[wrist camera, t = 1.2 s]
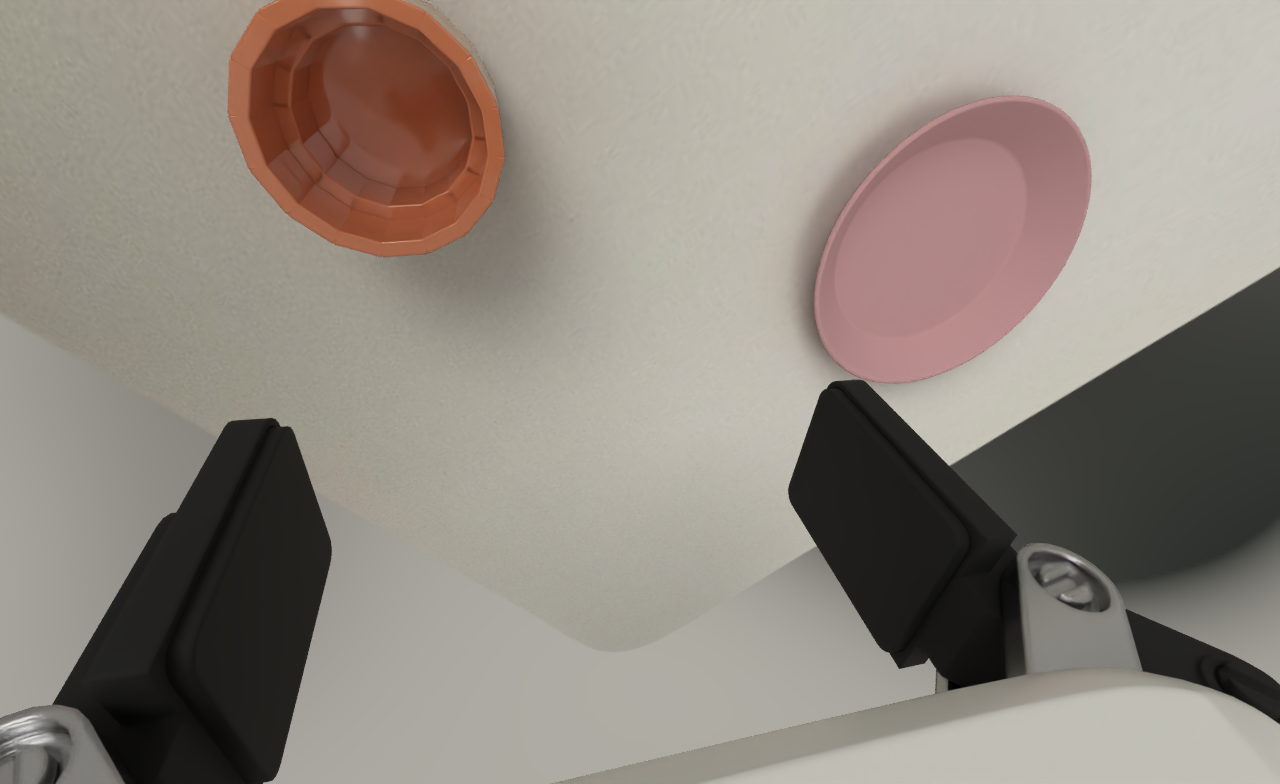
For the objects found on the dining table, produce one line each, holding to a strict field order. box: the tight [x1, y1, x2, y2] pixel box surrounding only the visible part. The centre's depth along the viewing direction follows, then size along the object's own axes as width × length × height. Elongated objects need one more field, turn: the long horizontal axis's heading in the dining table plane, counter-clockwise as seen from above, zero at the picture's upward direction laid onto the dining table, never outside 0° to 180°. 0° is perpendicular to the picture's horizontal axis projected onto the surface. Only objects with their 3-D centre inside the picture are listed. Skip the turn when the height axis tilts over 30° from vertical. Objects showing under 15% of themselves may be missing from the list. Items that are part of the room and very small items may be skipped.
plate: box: [814, 96, 1091, 383], centre depth 28 cm, size 14×14×2 cm
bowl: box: [228, 0, 505, 257], centre depth 18 cm, size 7×7×5 cm
